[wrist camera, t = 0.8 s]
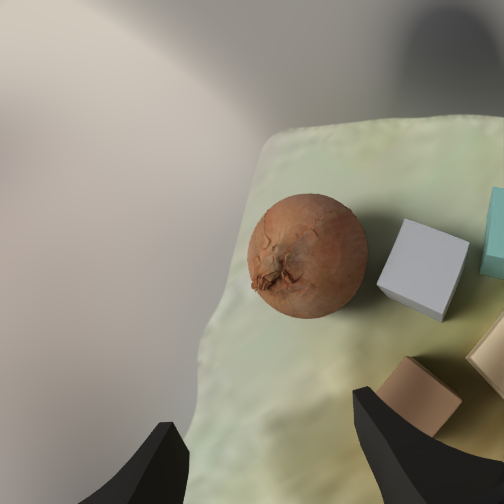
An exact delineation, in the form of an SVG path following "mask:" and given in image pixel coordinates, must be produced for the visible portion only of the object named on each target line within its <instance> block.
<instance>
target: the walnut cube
mask: <svg viewBox="0 0 504 504" xmlns="http://www.w3.org/2000/svg"><path fill="white" fill-rule="evenodd" d="M376 394H377V395H378V396H379V397H380V398H381V399H382V400H383V401H384V402H385V403H386V404H387V405H388V406H389V407H390V408H392V409H393V410H394V411H395V412H396V413H398V414H399V415H400V416H401V417H403V418H404V419H405V420H406V421H408V422H409V423H410V424H412V425H413V426H415V427H416V428H418V429H419V430H421V431H422V432H424V433H425V434H427V435H429V436H431V437H433V436H434V434H435V433H436V432H437V431H438V430H439V429H440V428H441V427H442V425H443V424H444V423H445V422H446V421H447V420H448V418H449V417H450V416H451V415H452V414H453V412H454V411H455V410H456V409H457V407H458V406H459V405H460V404H461V402H462V400H461V398H460V396H459V394H458V393H457V392H456V391H455V390H453V389H452V388H451V387H450V386H448V385H447V384H446V383H445V382H443V381H442V380H441V379H439V378H438V377H437V376H436V375H434V374H433V373H432V372H431V371H429V370H428V369H427V368H425V367H424V366H423V365H422V364H420V363H419V362H418V361H416V360H415V359H414V358H413V357H408V356H405V357H404V359H403V360H402V361H401V363H400V364H399V365H398V366H397V368H396V369H395V370H394V372H393V373H392V374H391V375H390V377H389V378H388V379H387V380H386V381H385V383H384V384H383V385H382V386H381V387H380V389H379V390H378V391H377V392H376Z"/></svg>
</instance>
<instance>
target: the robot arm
mask: <svg viewBox="0 0 504 504" xmlns="http://www.w3.org/2000/svg"><path fill="white" fill-rule="evenodd" d="M353 408H354V425H355V428H356V432H357V435H358V438H359V442H360V445H361V447H362V450H363V452H364V454H365V456H366V459H367V461H368V463H369V465H370V468H371V470H372V472H373V474H374V477H375V479H376V481H377V483H378V486H379V488H380V491H381V494H382V497H383V501H384V504H504V463H503V462H502V461H497V460H492V459H487V458H482V457H478V456H475V455H471V454H468V453H465V452H463V451H460V450H458V449H455V448H453V447H450V446H448V445H446V444H444V443H442V442H440V441H438V440H436V439H434V438H432V437H431V436H429V435H427V434H425V433H424V432H422V431H421V430H419V429H418V428H416V427H415V426H413V425H412V424H410V423H409V422H408V421H406V420H405V419H404V418H403V417H401V416H400V415H399V414H398V413H396V412H395V411H394V410H393V409H392V408H390V407H389V406H388V405H387V404H386V403H385V402H384V401H383V400H382V399H381V398H380V397H379V396H378V395H377V394H376V393H375V392H374V391H373V390H372V389H371V388H370V387H368V386H366V387H363V388H360V389H356V390H353ZM189 454H190V452H189V450H188V449H187V447H186V445H185V443H184V441H183V440H182V438H181V436H180V435H179V433H178V431H177V429H176V427H175V425H174V423H173V422H160V423H159V424H158V425H157V426H156V427H155V429H154V430H153V431H152V432H151V434H150V435H149V436H148V438H147V439H146V440H145V442H144V443H143V444H142V445H141V447H140V448H139V449H138V451H136V453H135V454H134V455H133V456H132V458H131V459H130V460H129V461H128V462H127V463H126V464H125V465H124V466H123V467H122V468H121V470H120V471H119V472H118V473H117V474H116V475H115V476H114V477H113V478H112V479H111V480H109V481H108V482H107V483H106V484H105V485H104V486H102V487H101V488H100V489H99V490H97V491H96V492H94V493H93V494H92V495H90V496H89V497H87V498H86V499H85V500H83V501H81V502H80V503H78V504H183V501H184V496H185V491H186V485H187V480H188V474H189Z"/></svg>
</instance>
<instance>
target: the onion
mask: <svg viewBox="0 0 504 504" xmlns="http://www.w3.org/2000/svg"><path fill="white" fill-rule="evenodd" d="M367 259H368V245H367V241H366V237H365V232H364V230H363V228H362V226H361V224H360V222H359V220H358V219H357V217H356V216H355V215H354V214H353V213H352V211H351V210H350V209H349V208H347V207H345V206H344V205H343V204H342V203H340V202H338V201H336V200H335V199H333V198H330V197H328V196H325V195H320V194H299V195H293V196H290V197H287V198H285V199H283V200H281V201H279V202H278V203H276V204H274V205H273V206H272V207H271V208H270V209H268V210H267V212H266V213H265V214H264V216H263V217H262V218H261V220H260V221H259V223H258V224H257V226H256V227H255V229H254V231H253V234H252V236H251V239H250V242H249V247H248V258H247V261H248V268H249V273H250V277H251V280H252V284H251V287H252V289H254V290H255V292H256V291H257V292H258V294H259V295H260V296H261V297H262V298H263V299H264V300H265V301H266V302H267V303H268V304H269V305H270V306H271V307H273V308H274V309H276V310H277V311H279V312H281V313H283V314H285V315H288V316H291V317H296V318H302V319H312V318H320V317H323V316H326V315H329V314H331V313H333V312H335V311H337V310H339V309H340V308H342V307H343V306H344V305H346V304H347V303H348V302H349V301H350V300H351V299H352V298H353V296H354V295H355V294H356V292H357V291H358V289H359V287H360V285H361V283H362V281H363V279H364V276H365V272H366V267H367Z"/></svg>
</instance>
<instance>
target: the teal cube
mask: <svg viewBox="0 0 504 504" xmlns="http://www.w3.org/2000/svg"><path fill="white" fill-rule="evenodd" d="M479 274H481V275H485V276H490V277H494V278H498V279H503V280H504V189H503V188H497V187H493V189H492V194H491V199H490V204H489V209H488V214H487V222H486V231H485V240H484V247H483V255H482V261H481V267H480V273H479Z"/></svg>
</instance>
